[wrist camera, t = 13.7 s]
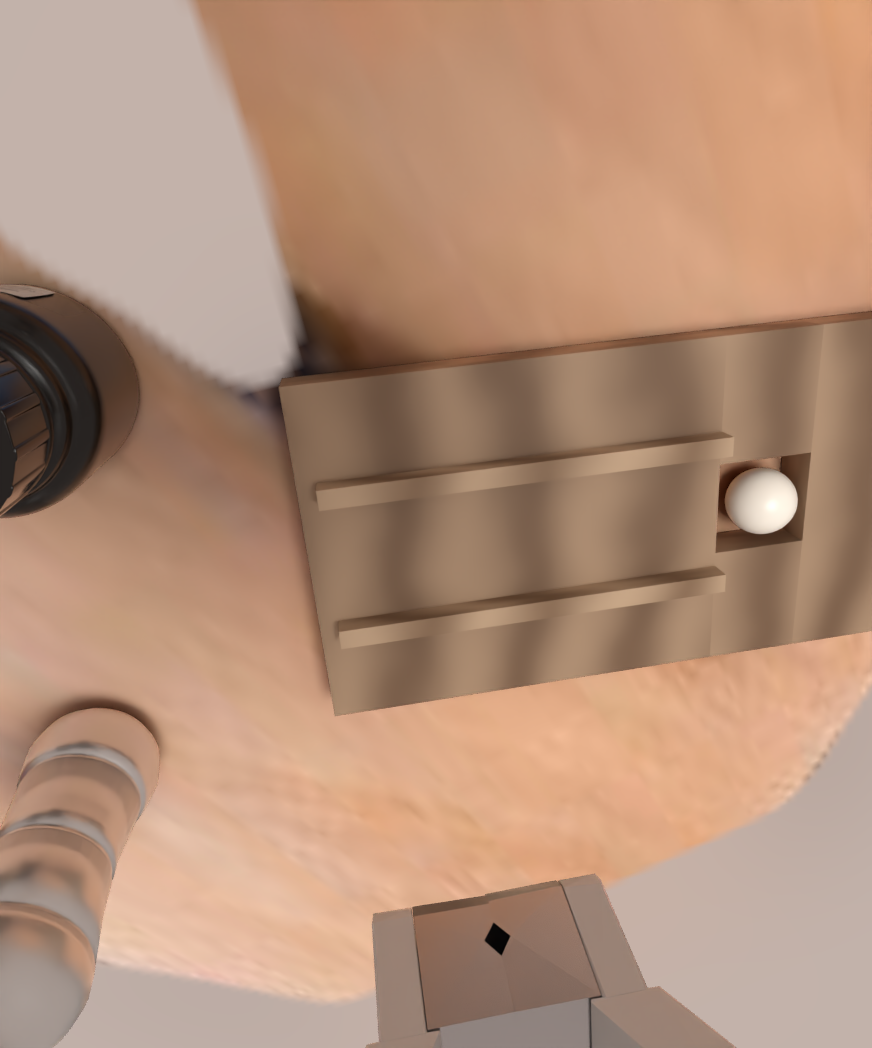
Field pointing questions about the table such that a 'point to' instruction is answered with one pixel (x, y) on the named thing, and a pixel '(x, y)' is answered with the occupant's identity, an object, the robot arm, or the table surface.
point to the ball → (761, 500)
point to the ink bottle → (57, 397)
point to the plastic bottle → (65, 865)
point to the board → (580, 507)
